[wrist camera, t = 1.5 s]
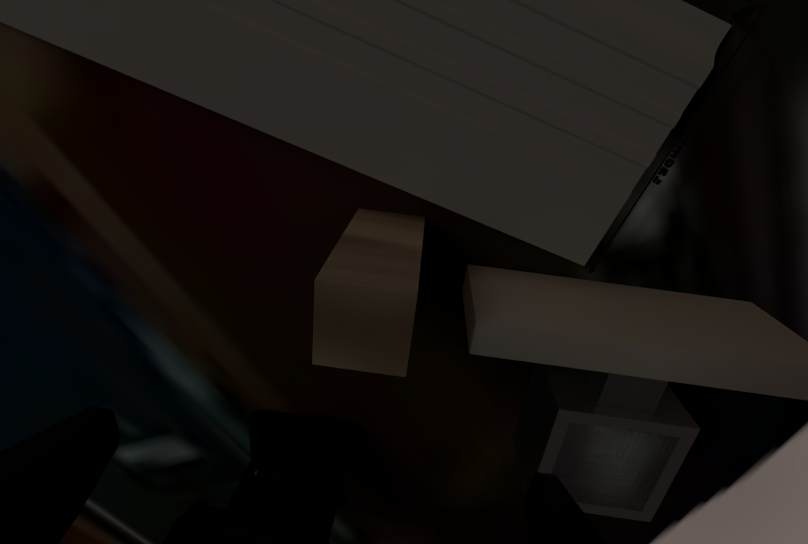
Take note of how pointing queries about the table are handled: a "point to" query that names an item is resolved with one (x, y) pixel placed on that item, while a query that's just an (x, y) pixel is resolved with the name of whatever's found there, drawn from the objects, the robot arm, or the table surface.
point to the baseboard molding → (430, 90)
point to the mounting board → (632, 332)
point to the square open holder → (603, 438)
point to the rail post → (369, 294)
